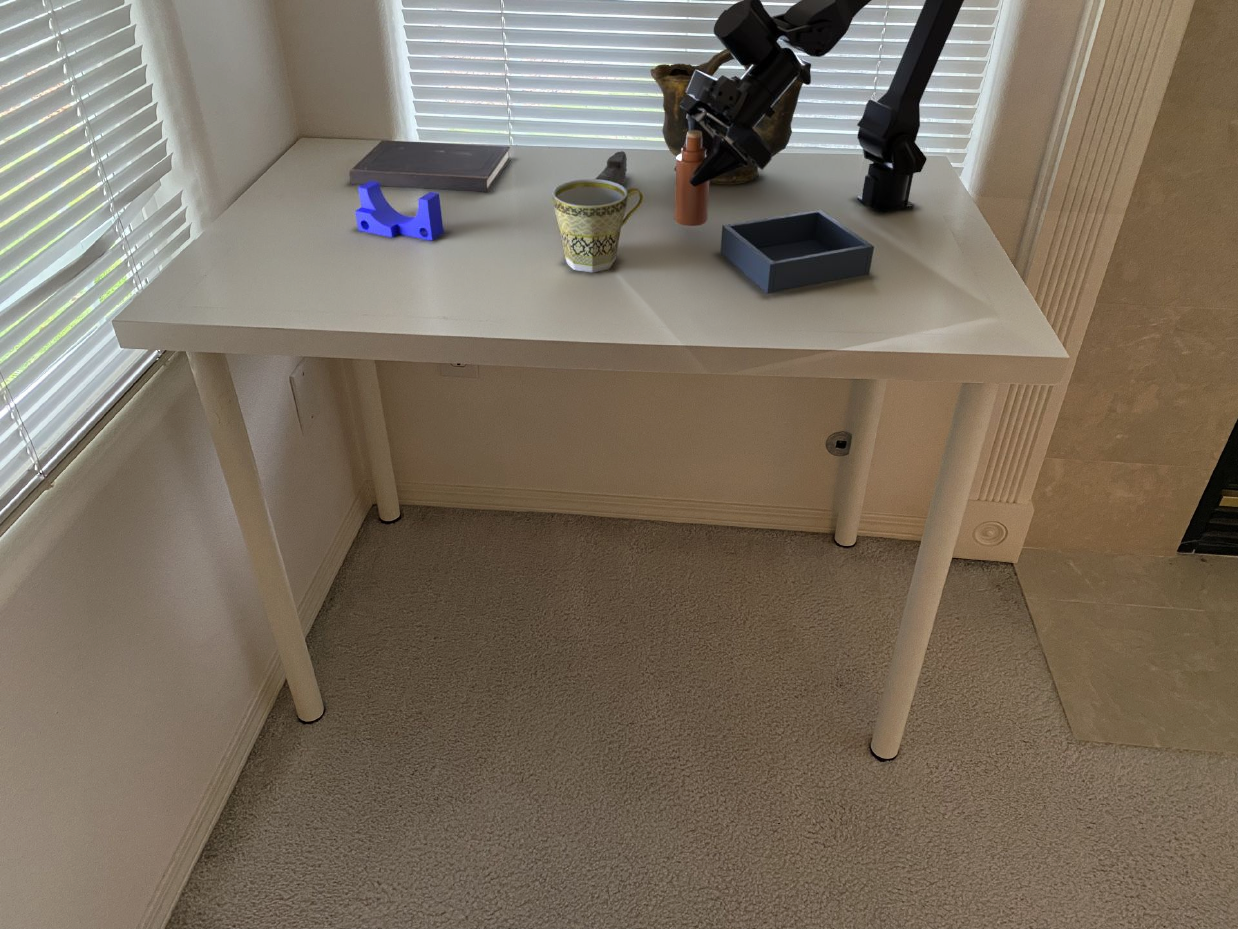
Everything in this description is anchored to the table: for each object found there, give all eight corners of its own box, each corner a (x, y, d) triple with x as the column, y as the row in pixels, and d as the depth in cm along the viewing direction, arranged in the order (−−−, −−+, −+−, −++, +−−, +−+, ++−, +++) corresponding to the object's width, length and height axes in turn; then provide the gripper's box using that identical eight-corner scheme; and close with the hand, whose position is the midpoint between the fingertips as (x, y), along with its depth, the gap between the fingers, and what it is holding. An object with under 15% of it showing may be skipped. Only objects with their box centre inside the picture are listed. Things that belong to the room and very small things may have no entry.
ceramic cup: (573, 283, 124) (571, 211, 118) (543, 255, 132) (540, 186, 126) (658, 264, 129) (660, 194, 123) (625, 238, 136) (625, 170, 130)
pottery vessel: (653, 189, 152) (656, 60, 140) (644, 166, 161) (647, 42, 149) (803, 183, 154) (819, 56, 142) (787, 161, 163) (800, 39, 151)
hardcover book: (383, 153, 166) (381, 140, 164) (510, 159, 163) (509, 146, 162) (350, 185, 153) (348, 171, 152) (487, 193, 151) (486, 179, 149)
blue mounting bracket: (358, 230, 139) (351, 190, 135) (377, 219, 142) (370, 180, 138) (426, 244, 135) (421, 204, 131) (443, 233, 138) (439, 193, 134)
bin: (816, 239, 136) (820, 209, 134) (868, 277, 126) (874, 246, 124) (720, 255, 132) (722, 225, 129) (766, 296, 122) (770, 264, 119)
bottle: (708, 214, 137) (713, 127, 130) (705, 227, 133) (710, 138, 126) (676, 212, 138) (679, 125, 130) (672, 224, 134) (675, 137, 126)
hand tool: (599, 218, 142) (599, 189, 139) (574, 215, 143) (574, 185, 141) (640, 177, 157) (640, 150, 154) (617, 174, 158) (617, 147, 155)
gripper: (695, 32, 130) (621, 122, 133) (759, 64, 116) (675, 164, 119) (741, 85, 137) (670, 169, 140) (807, 121, 123) (727, 214, 126)
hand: (683, 178), depth 131 cm, fingers closed on bottle, 5 cm apart
